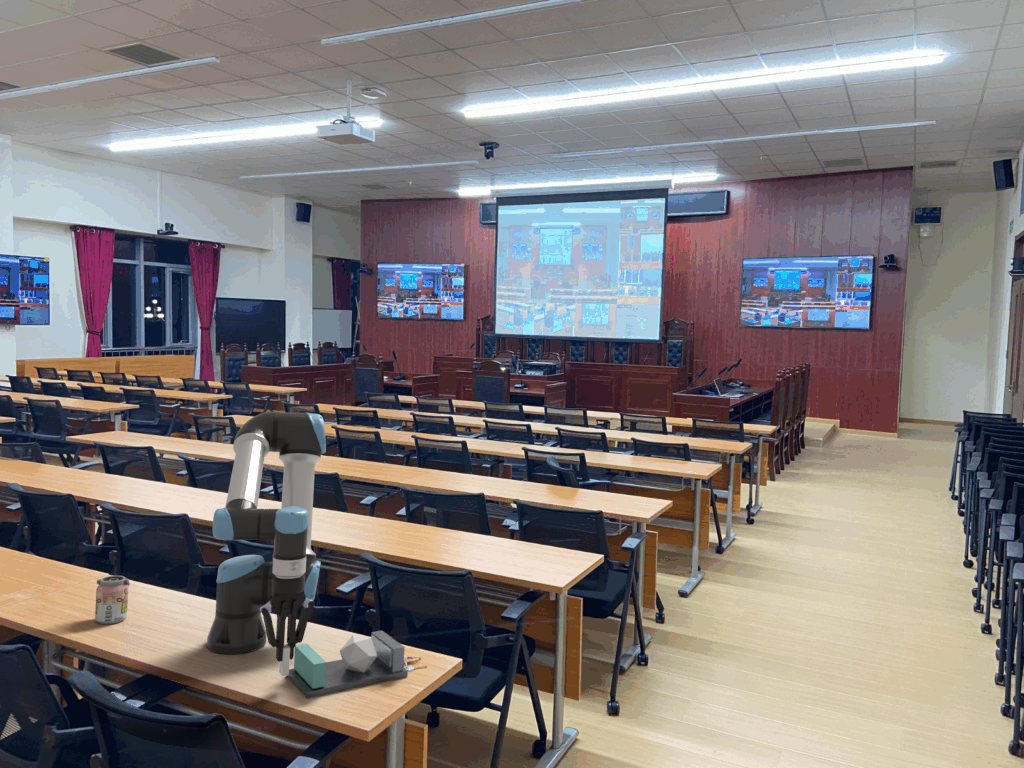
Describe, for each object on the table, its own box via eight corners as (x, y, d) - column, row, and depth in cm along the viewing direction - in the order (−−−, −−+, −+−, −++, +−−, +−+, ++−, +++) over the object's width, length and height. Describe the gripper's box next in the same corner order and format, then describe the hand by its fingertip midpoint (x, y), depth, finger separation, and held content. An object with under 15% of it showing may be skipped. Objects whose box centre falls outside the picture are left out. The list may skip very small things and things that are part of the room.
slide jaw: (293, 668, 183) (295, 645, 183) (307, 665, 185) (308, 643, 185) (312, 688, 172) (314, 664, 172) (326, 685, 174) (328, 661, 174)
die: (381, 668, 188) (370, 631, 192) (378, 663, 180) (366, 625, 184) (350, 681, 186) (339, 644, 190) (345, 677, 179) (334, 638, 183)
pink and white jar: (99, 614, 216) (101, 573, 216) (131, 613, 219) (133, 573, 218) (90, 625, 208) (92, 583, 207) (123, 624, 210) (125, 582, 210)
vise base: (286, 676, 182) (288, 645, 182) (383, 657, 197) (384, 629, 197) (306, 698, 171) (308, 666, 171) (407, 676, 186) (409, 647, 186)
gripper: (266, 582, 167) (260, 685, 168) (321, 575, 175) (316, 674, 175) (256, 573, 173) (251, 672, 174) (310, 567, 181) (305, 662, 181)
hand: (283, 673), depth 175 cm, fingers closed
